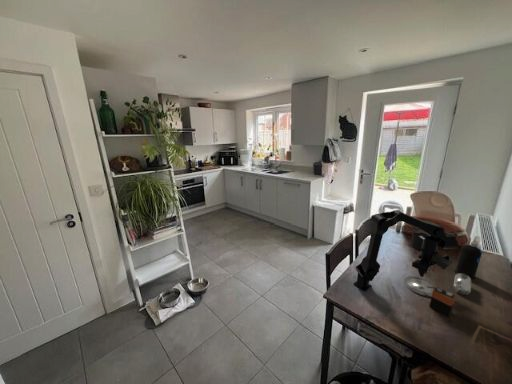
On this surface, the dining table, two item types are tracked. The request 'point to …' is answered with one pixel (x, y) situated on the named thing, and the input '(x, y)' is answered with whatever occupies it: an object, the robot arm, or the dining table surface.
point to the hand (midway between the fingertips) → (423, 275)
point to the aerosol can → (468, 260)
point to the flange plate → (420, 286)
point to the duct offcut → (462, 284)
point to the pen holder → (417, 241)
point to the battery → (442, 301)
